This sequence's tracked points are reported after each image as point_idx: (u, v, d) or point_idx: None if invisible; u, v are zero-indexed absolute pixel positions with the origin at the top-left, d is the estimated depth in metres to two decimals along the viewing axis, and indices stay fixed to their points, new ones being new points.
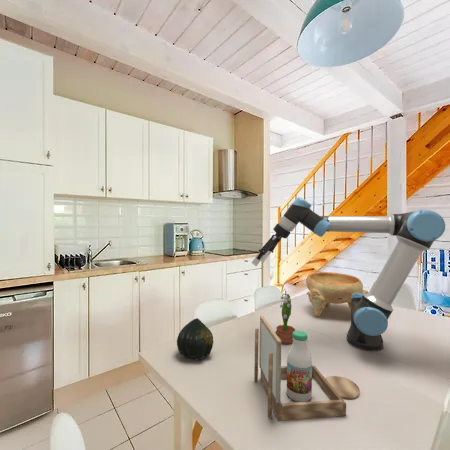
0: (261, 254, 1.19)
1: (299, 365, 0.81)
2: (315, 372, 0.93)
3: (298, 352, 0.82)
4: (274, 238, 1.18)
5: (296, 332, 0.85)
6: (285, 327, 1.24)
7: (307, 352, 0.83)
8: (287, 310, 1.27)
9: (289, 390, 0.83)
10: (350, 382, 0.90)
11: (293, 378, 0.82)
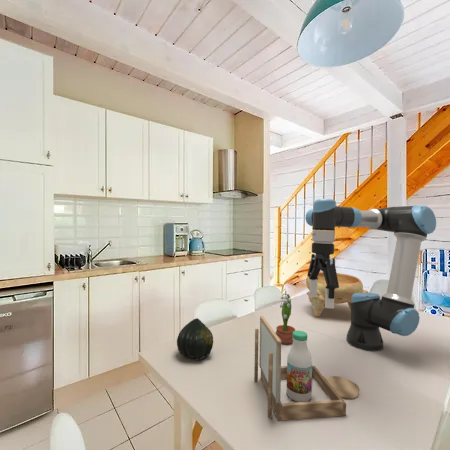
0: (333, 290, 0.86)
1: (299, 365, 0.81)
2: (315, 372, 0.93)
3: (298, 352, 0.82)
4: (332, 261, 0.88)
5: (296, 332, 0.85)
6: (285, 327, 1.24)
7: (307, 352, 0.83)
8: (287, 310, 1.27)
9: (289, 390, 0.83)
10: (350, 382, 0.90)
11: (293, 378, 0.82)
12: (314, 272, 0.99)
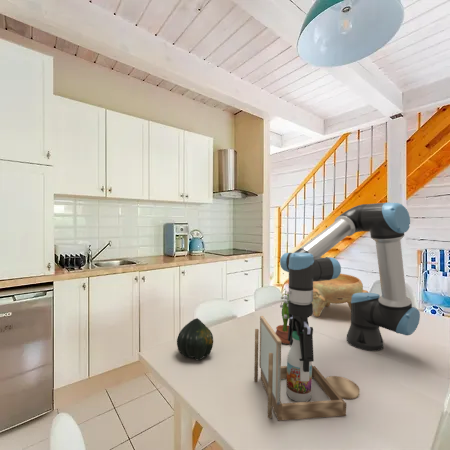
0: (307, 362, 0.79)
1: (299, 365, 0.81)
2: (315, 372, 0.93)
3: (298, 352, 0.82)
4: (309, 331, 0.78)
5: (296, 332, 0.85)
6: (285, 327, 1.24)
7: None
8: (287, 310, 1.27)
9: (289, 390, 0.83)
10: (350, 382, 0.90)
11: (293, 378, 0.82)
12: None
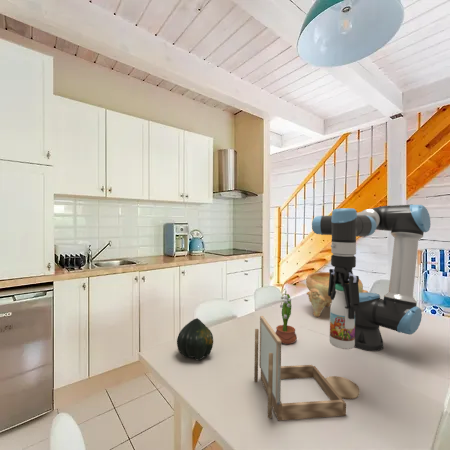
0: (353, 310, 0.83)
1: (343, 314, 0.85)
2: (315, 372, 0.93)
3: (342, 302, 0.86)
4: (355, 280, 0.82)
5: (339, 284, 0.89)
6: (285, 327, 1.24)
7: None
8: (287, 310, 1.27)
9: (333, 339, 0.87)
10: (350, 382, 0.90)
11: (337, 326, 0.86)
12: None
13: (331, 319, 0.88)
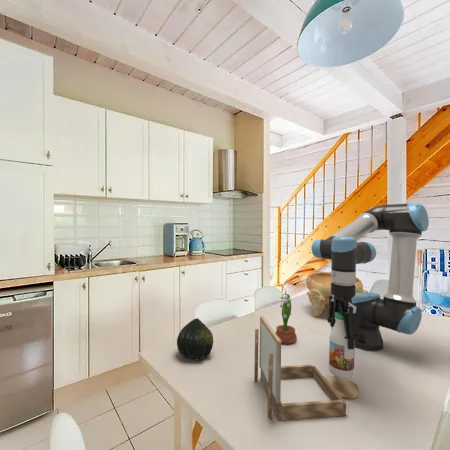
0: (352, 340, 0.83)
1: (343, 343, 0.85)
2: (315, 372, 0.93)
3: (342, 331, 0.86)
4: (355, 310, 0.82)
5: (338, 312, 0.89)
6: (285, 327, 1.24)
7: None
8: (287, 310, 1.27)
9: (333, 368, 0.87)
10: (350, 382, 0.90)
11: (337, 355, 0.86)
12: None
13: (330, 348, 0.88)
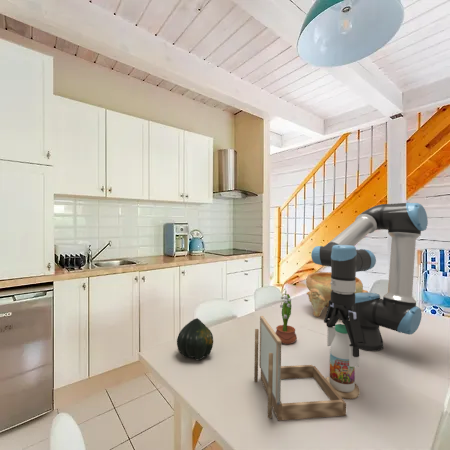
0: (357, 347, 0.80)
1: (343, 357, 0.85)
2: (315, 372, 0.93)
3: (342, 344, 0.86)
4: (355, 316, 0.82)
5: (339, 325, 0.88)
6: (285, 327, 1.24)
7: None
8: (287, 310, 1.27)
9: (333, 381, 0.87)
10: None
11: (337, 369, 0.85)
12: (332, 320, 0.93)
13: (331, 361, 0.88)
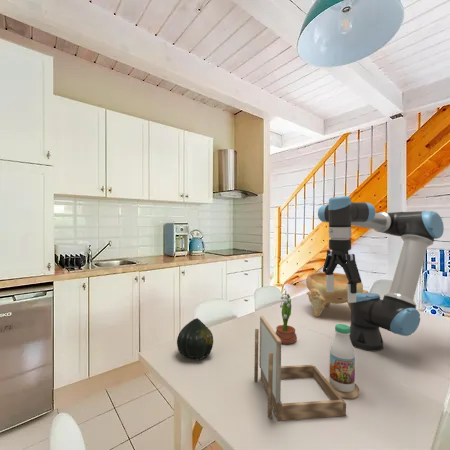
0: (355, 285, 0.89)
1: (343, 356, 0.85)
2: (315, 372, 0.93)
3: (342, 344, 0.86)
4: (352, 257, 0.90)
5: (339, 325, 0.89)
6: (285, 327, 1.24)
7: (350, 344, 0.86)
8: (287, 310, 1.27)
9: (333, 381, 0.87)
10: None
11: (337, 369, 0.86)
12: (331, 268, 1.02)
13: (331, 360, 0.88)
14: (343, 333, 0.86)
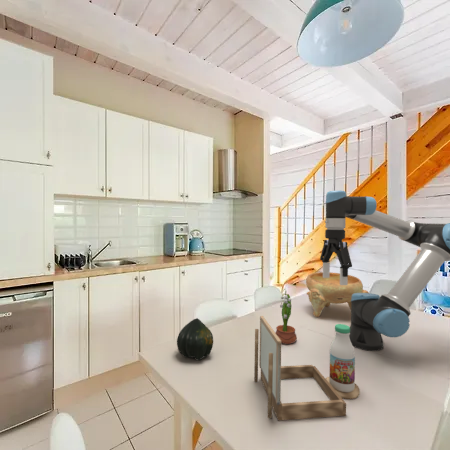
0: (346, 269, 1.00)
1: (343, 357, 0.85)
2: (315, 372, 0.93)
3: (342, 344, 0.86)
4: (345, 244, 1.01)
5: (339, 325, 0.88)
6: (285, 327, 1.24)
7: (350, 344, 0.86)
8: (287, 310, 1.27)
9: (333, 381, 0.87)
10: None
11: (337, 369, 0.85)
12: (327, 255, 1.13)
13: (331, 360, 0.88)
14: (343, 333, 0.86)
